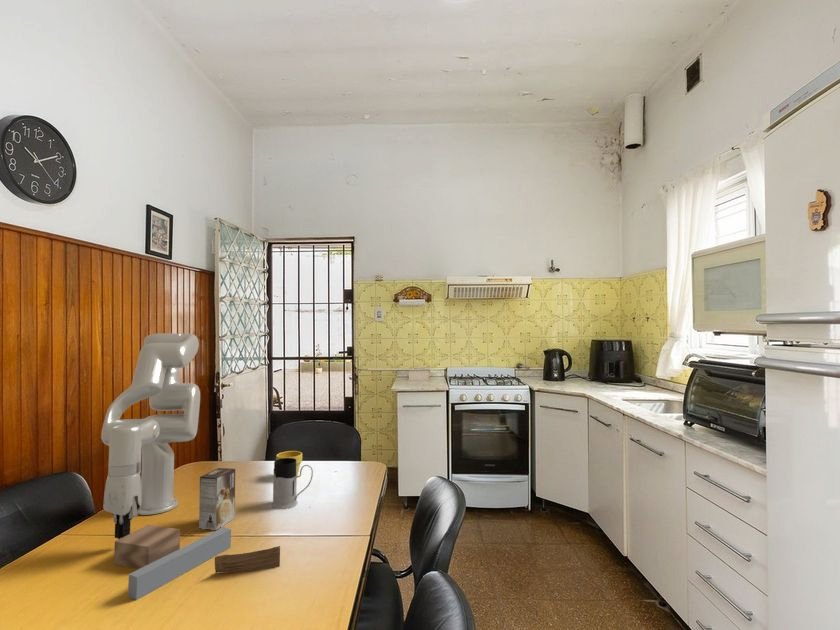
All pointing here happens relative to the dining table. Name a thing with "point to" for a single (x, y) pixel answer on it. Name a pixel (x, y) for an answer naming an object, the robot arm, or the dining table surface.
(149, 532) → the walnut block
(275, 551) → the wood plank
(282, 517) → the dining table surface
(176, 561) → the grey board
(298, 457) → the plant pot
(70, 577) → the dining table surface
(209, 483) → the coffee box
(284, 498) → the glass holder
